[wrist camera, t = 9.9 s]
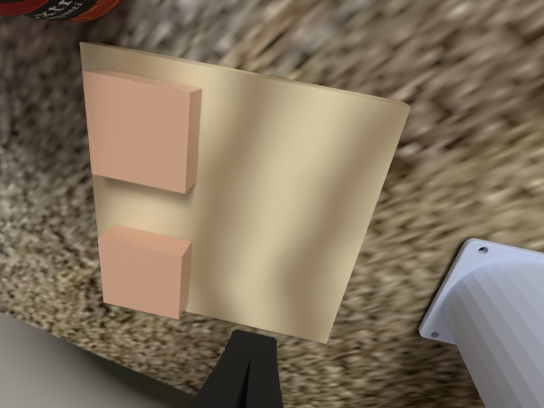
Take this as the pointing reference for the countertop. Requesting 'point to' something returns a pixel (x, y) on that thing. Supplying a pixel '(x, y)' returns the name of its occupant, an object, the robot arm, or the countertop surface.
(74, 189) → the countertop surface
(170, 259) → the tile
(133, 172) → the tile
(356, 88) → the countertop surface
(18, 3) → the canned food
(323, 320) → the board
